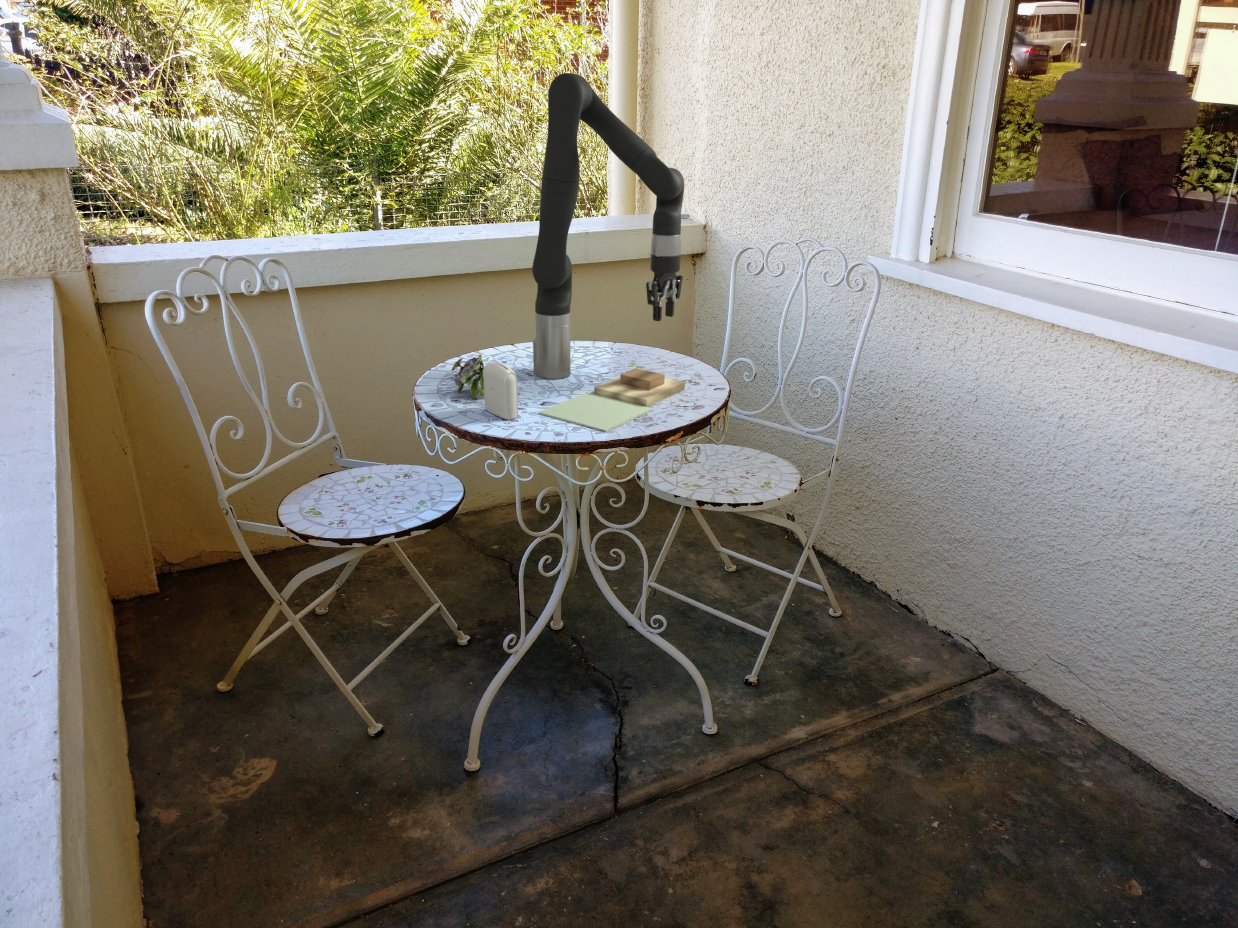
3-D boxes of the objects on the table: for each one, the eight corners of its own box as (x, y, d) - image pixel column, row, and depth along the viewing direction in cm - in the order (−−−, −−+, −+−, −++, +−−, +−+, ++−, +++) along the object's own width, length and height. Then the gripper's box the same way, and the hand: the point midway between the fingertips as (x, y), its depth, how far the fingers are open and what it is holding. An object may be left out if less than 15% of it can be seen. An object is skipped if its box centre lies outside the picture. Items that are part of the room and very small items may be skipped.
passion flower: (461, 412, 227) (448, 369, 229) (502, 401, 229) (489, 358, 231) (460, 400, 216) (447, 355, 218) (503, 389, 219) (489, 344, 220)
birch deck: (594, 394, 225) (594, 387, 224) (633, 378, 239) (634, 370, 238) (646, 407, 217) (646, 400, 216) (684, 389, 230) (685, 382, 229)
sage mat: (538, 413, 211) (538, 412, 211) (586, 393, 226) (586, 392, 226) (606, 432, 201) (606, 430, 201) (652, 409, 215) (652, 408, 215)
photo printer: (482, 409, 213) (480, 360, 208) (497, 406, 216) (495, 357, 211) (505, 421, 206) (503, 370, 201) (520, 418, 208) (519, 367, 204)
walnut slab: (620, 383, 227) (620, 374, 226) (635, 377, 233) (635, 368, 232) (649, 390, 223) (649, 381, 222) (664, 383, 228) (664, 374, 227)
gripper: (668, 247, 229) (665, 311, 236) (637, 254, 218) (635, 321, 225) (693, 250, 225) (690, 315, 232) (663, 257, 214) (660, 326, 221)
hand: (663, 318), depth 228 cm, fingers open, 5 cm apart
